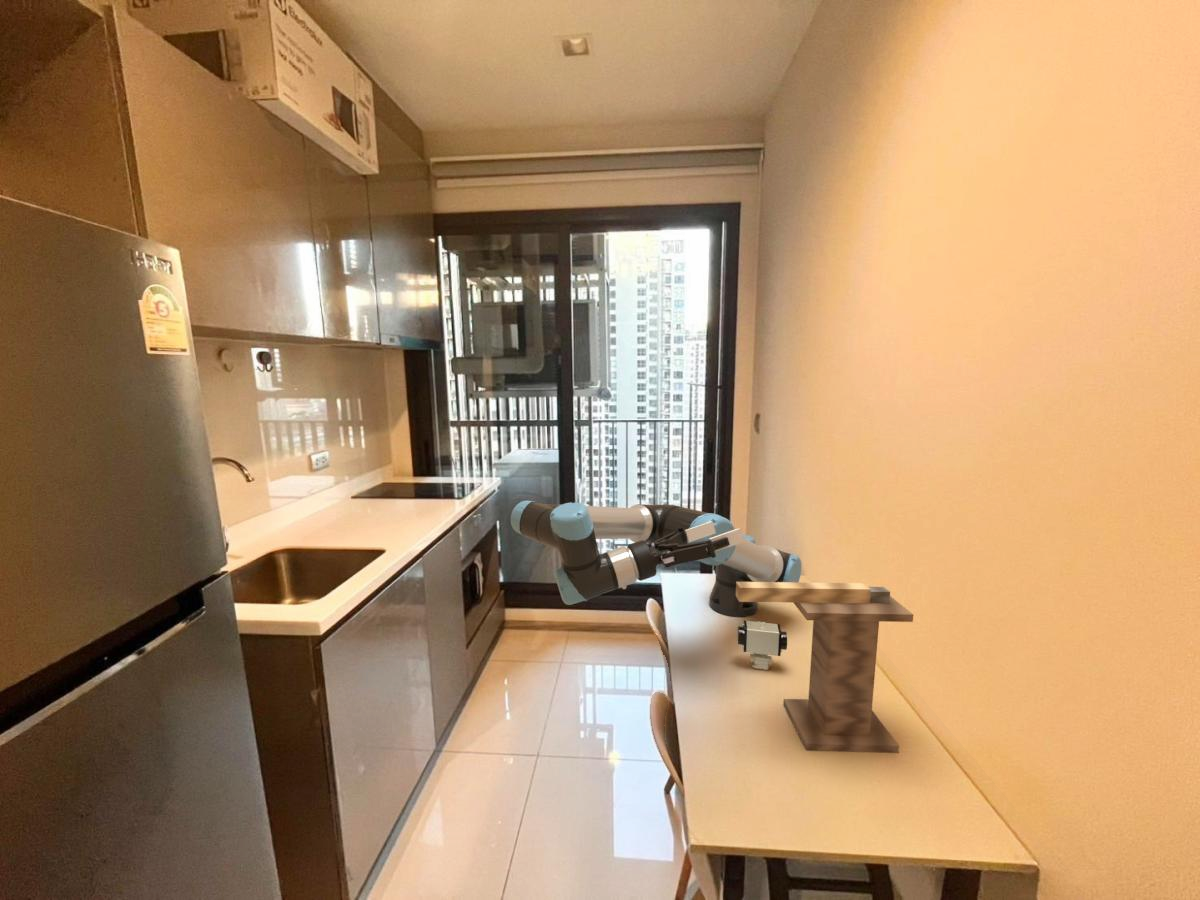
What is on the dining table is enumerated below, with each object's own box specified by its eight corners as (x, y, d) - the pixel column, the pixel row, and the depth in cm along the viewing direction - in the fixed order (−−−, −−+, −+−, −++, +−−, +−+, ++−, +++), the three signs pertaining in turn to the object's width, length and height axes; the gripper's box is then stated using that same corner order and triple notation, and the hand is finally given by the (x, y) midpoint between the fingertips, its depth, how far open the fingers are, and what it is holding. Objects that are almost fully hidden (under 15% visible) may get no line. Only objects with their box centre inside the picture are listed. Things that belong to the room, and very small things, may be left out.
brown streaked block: (739, 601, 102) (739, 587, 101) (735, 595, 105) (736, 581, 104) (890, 603, 101) (891, 589, 100) (882, 597, 104) (883, 583, 103)
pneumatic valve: (785, 674, 125) (788, 629, 124) (737, 668, 128) (738, 624, 126) (783, 662, 131) (785, 619, 129) (736, 656, 133) (738, 614, 132)
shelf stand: (801, 750, 100) (809, 615, 96) (778, 704, 114) (785, 585, 110) (903, 752, 99) (916, 617, 95) (868, 706, 113) (878, 586, 109)
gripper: (623, 569, 113) (708, 539, 117) (655, 596, 89) (761, 558, 93) (614, 537, 113) (699, 509, 117) (643, 556, 89) (749, 519, 93)
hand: (726, 530), depth 105 cm, fingers open, 13 cm apart
